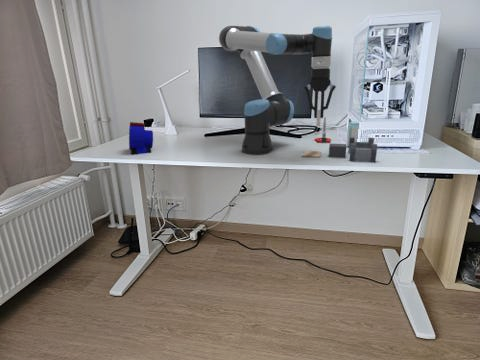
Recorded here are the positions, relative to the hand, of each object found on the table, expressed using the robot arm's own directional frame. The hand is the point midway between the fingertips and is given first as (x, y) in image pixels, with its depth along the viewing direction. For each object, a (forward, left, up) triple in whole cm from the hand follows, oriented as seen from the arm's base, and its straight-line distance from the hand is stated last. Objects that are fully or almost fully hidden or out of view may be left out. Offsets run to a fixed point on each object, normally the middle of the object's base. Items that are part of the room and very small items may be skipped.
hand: (318, 125), depth 136 cm
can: (+17, +17, -14) cm, 28 cm away
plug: (+9, 0, -14) cm, 16 cm away
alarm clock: (-86, -5, -14) cm, 87 cm away
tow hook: (+2, +28, -14) cm, 31 cm away
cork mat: (-2, 0, -13) cm, 14 cm away
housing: (+19, 0, -13) cm, 23 cm away
